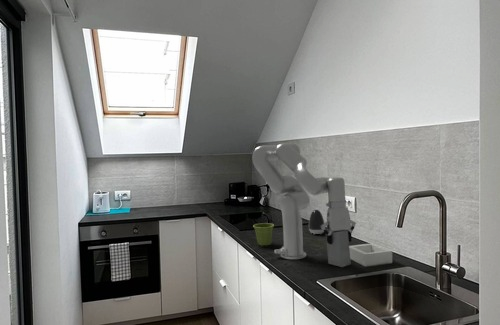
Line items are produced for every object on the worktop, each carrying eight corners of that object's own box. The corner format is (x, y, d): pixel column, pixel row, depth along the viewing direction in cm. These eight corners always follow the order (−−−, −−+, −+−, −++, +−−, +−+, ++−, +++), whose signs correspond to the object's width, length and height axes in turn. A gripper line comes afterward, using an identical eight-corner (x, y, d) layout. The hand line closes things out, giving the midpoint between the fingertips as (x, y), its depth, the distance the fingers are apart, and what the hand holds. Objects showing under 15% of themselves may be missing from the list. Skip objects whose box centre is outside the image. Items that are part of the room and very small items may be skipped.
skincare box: (351, 265, 158) (350, 230, 158) (340, 268, 154) (339, 232, 154) (337, 260, 165) (336, 227, 165) (326, 263, 162) (325, 229, 161)
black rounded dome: (324, 231, 226) (323, 208, 225) (326, 235, 215) (325, 210, 215) (308, 232, 227) (307, 208, 226) (309, 235, 216) (308, 211, 216)
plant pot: (260, 241, 206) (259, 222, 206) (278, 243, 200) (277, 224, 200) (249, 246, 196) (249, 226, 196) (268, 248, 190) (267, 228, 190)
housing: (365, 266, 155) (365, 254, 155) (347, 257, 170) (346, 246, 169) (392, 263, 159) (392, 251, 159) (372, 254, 173) (372, 243, 173)
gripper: (323, 207, 153) (326, 246, 153) (358, 204, 158) (360, 241, 158) (316, 205, 161) (318, 243, 161) (349, 202, 165) (351, 238, 165)
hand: (339, 242), depth 159 cm, fingers open, 9 cm apart
